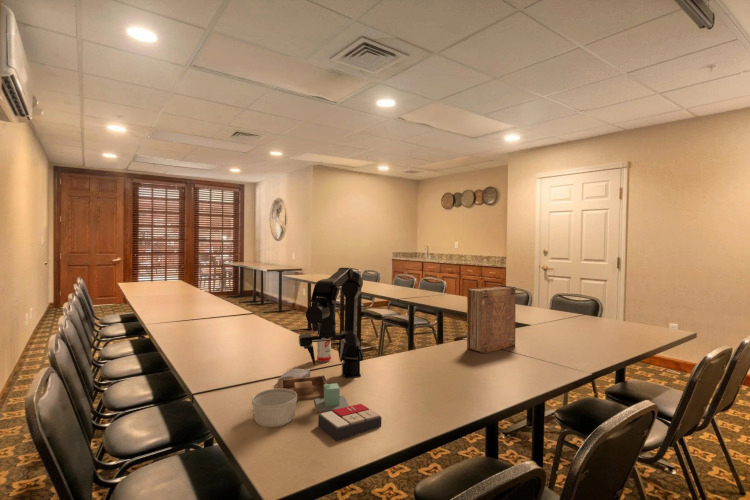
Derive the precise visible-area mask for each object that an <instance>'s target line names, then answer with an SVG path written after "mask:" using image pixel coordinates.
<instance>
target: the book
mask: <svg viewBox="0 0 750 500" xmlns="http://www.w3.org/2000/svg"><path fill="white" fill-rule="evenodd" d="M516 289H517V287H516V286H507V285H495V286H484V287H483V286H482V287H474V288H467V290H466V292H467V293H466V295H467V298H466V301H467V305H466V350H472V351H476V352H479V353H480V354H486V353H491V352H495V351H500V350H503V349H508V348H512V347H515V346H516V295H517V294H516V291H517V290H516Z"/></svg>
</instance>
